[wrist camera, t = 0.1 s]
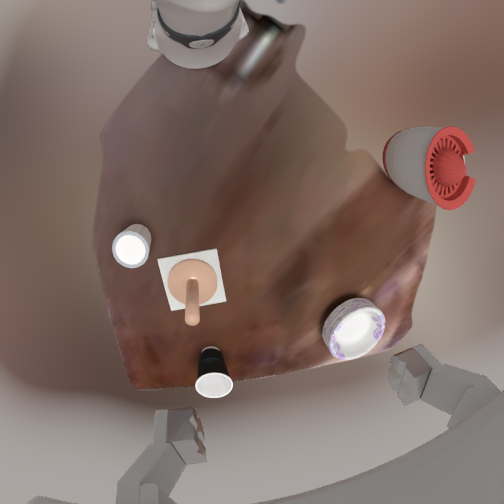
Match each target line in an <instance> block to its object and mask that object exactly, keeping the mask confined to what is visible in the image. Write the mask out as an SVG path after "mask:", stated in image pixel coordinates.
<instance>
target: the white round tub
mask: <svg viewBox="0 0 504 504" xmlns="http://www.w3.org/2000/svg"><path fill="white" fill-rule="evenodd" d="M150 244H151V233H150V232H149V230H148V229H147V228H146V227H145V226H144V225H140V224H133V225H131V226H129V227H128V228H126V229H125V230H124V231H123V232H121V233H120V234H119V235H118V236H117V237H116V238H115V240H114V241H113V246H112V251H113V255H114V257H115V259H116V260H117V262H118V263H120V264H121V265H123V266H124V267H128V268H136V267H139V266H141V265H143V264H144V263H145V261H146V260H147V259H148V255H149V250H150Z"/></svg>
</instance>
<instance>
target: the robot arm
mask: <svg viewBox="0 0 504 504" xmlns="http://www.w3.org/2000/svg"><path fill="white" fill-rule="evenodd" d="M239 1H240V0H152V2H151V9H152V10H153V11H152V17H151V23H150V28H149V34H148V40H147V45H148V47H149V48H150V49H152V50H155V51H158V52H161V53H162V54H163V55H164V56H165V57H166V58H167V59H168V60H170V61H171V62H172V63H174V64H176V65H178V66H181V67H184V68H190V69H200V68H206V67H209V66H212V65H215V64H217V63H219V62H220V61H222V60H223V59H225V58H226V57H227V56H228V55H229V54H230V52H231V51H232V50H233V48H234V46H235V45H236V43H237V42H238V41H240V40H241V39H243V38H244V37H246V36H247V35H248V32H249V29H248V26H247V23H246V21H245V18H244V16H243V13H242V11H241V9H240V2H239ZM153 37H154V38H155V39H153ZM390 363H391V367H390V368H389V369H388V373H387V377H388V382H389V384H390V386H391V388H392V389H394V390H396V391H398V397H399V399H400V400H401V401H402V403H403V404H404V406H406V405H408V404H410V403H412V402H415V401H417V400H419V399H421V400H422V401H424V402H426V403H428V404H430V405H432V406H434V407H436V408H438V409H440V410H442V411H444V412H446V413H448V414H450V415H452V417H451V419H450V420H449V422H448V425H447V427H448V428H449V430H447V431H445V432H444V433H442V434H441V435H439V436H437V437H435V438H434V439H432V440H430V441H428V442H426V443H425V444H423V445H421V446H419V447H417V448H415V449H414V450H412V451H410V452H408V453H406V454H404V455H402V456H400V457H398V458H395V459H393V460H391V461H389V462H387V463H385V464H382V465H380V466H378V467H375V468H373V469H371V470H368V471H366V472H363V473H361V474H358V475H356V476H353V477H351V478H348V479H345V480H342V481H339V482H336V483H333V484H330V485H327V486H324V487H321V488H317V489H314V490H310V491H307V492H303V493H300V494H296V495H292V496H288V497H283V498H279V499H274V500H269V501H265V502H259V503H253V504H504V390H503V391H502V392H501V391H500V390H499V389H498V388H497V387H496V386H495V385H494V384H493V383H492V382H491V381H490V380H489V379H488V378H487V377H486V376H484V375H480V374H477V373H474V372H470V371H467V370H464V369H460V368H457V367H454V366H450V365H447V364H443V365H442V364H441V363H440V362H439V361H438V360H437V359H436V358H435V357H434V356H433V355H432V353H431V352H430V351H429V350H428V349H427V348H426V347H424V345H422V344H419V345H417V346H415V347H412V348H409V349H407V350H405V351H402V352H400V353H398V354H395V355H393V356H392V357H391V359H390ZM153 434H154V435H153V443H152V444H149V445H148V446H147V447H146V449H145V450H144V451H143V452H142V453H141V455H140V456H139V457H138V459H137V460H136V461H135V462H134V463H133V464H132V465H131V467H130V468H129V469H128V470H127V471H126V473H125V474H124V475H123V476H122V478H121V479H120V480H119V481H118V484H117V495H116V504H176V503H175V502H174V501H173V500H172V499H171V498H170V497H169V495H170V493H171V491H172V489H173V488H174V486H175V484H176V483H177V481H178V479H179V477H180V476H181V474H182V472H183V470H184V469H185V467H186V465H187V464H195V463H203V462H207V459H206V448H205V447H204V445H203V441H204V440H205V437H204V431H203V426H202V423H201V420H200V419H199V418H198V417H197V412H196V409H195V407H190V408H179V409H167V410H157V411H156V413H155V419H154V433H153ZM26 504H76V503H71V502H66V501H60V500H57V499H52V498H48V497H43V496H37V497H34V498H33V499H31V500H30V501H29V502H27V503H26Z"/></svg>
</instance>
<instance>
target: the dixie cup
mask: <svg viewBox="0 0 504 504" xmlns="http://www.w3.org/2000/svg"><path fill="white" fill-rule="evenodd" d="M195 387H196V390H197V391H198V393H200V394H201V395H203V396H205V397H209V398H218V397H222V396H225V395H227V394H228V393H229V392H230V391H231V390H232V387H233V382H232V380H231V378H230V377H229V373H228V370H227V367H226V364H225V361H224V358H223V355H222V353H221V352H220V350H219V349H218V348H216V347H213V346H209V347H206V348H204V349H203V350H202V352H201V354H200V359H199V368H198V376H197V381H196V384H195Z"/></svg>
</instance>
